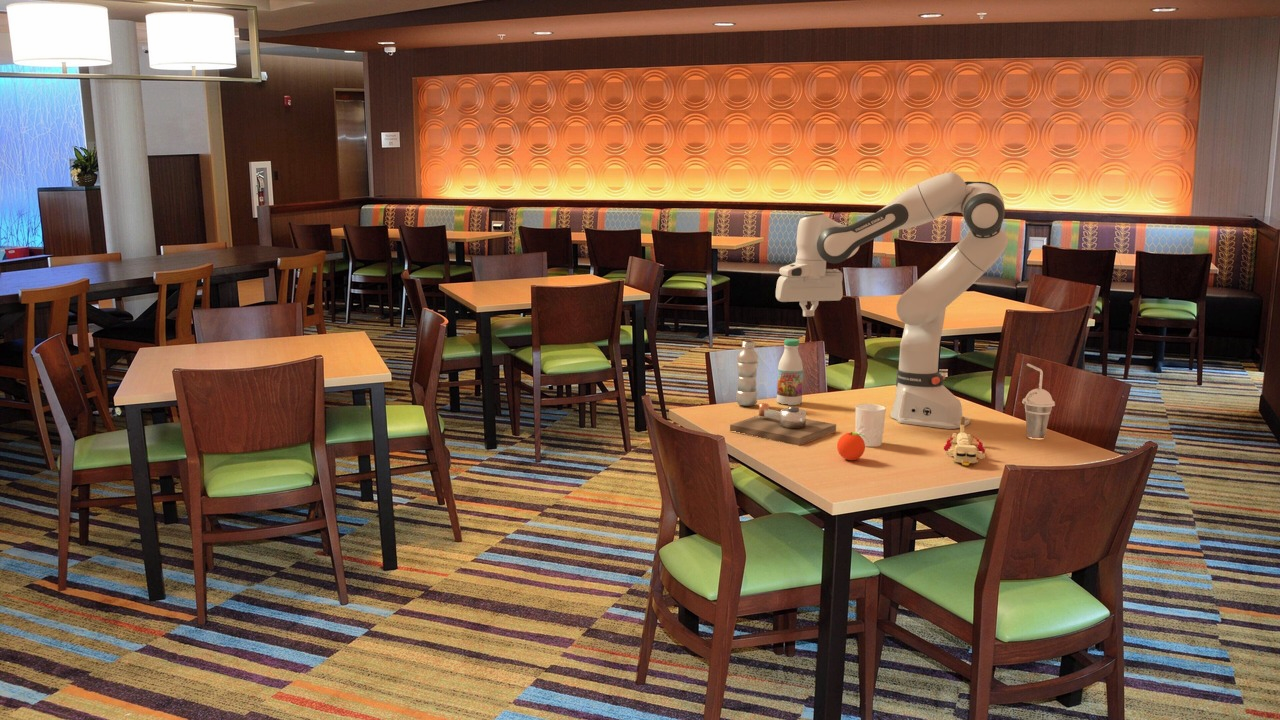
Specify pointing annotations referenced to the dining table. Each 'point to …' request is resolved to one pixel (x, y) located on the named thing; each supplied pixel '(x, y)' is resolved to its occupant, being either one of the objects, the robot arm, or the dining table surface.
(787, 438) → the walnut stand
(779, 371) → the milk bottle
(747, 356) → the plastic bottle
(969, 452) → the blocky toy figure
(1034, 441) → the dining table surface
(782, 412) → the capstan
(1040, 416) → the cup with straw
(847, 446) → the clementine
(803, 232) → the robot arm
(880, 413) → the white cup
